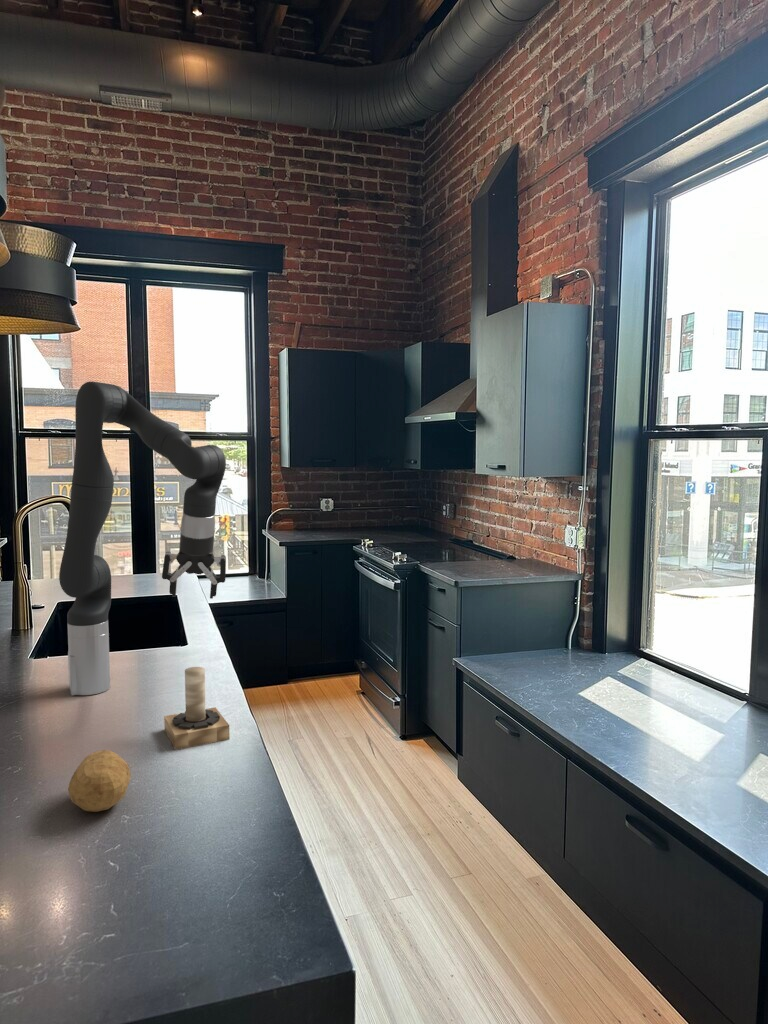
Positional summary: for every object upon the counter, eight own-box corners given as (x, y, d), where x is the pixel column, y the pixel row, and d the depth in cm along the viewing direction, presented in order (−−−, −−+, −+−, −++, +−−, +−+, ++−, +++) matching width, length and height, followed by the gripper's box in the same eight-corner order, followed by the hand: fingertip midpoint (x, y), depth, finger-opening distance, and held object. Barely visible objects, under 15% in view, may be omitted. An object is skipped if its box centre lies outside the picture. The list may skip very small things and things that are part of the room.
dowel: (188, 740, 144) (186, 674, 143) (184, 732, 148) (182, 668, 146) (208, 736, 146) (207, 671, 145) (203, 729, 150) (202, 665, 148)
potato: (130, 780, 127) (129, 738, 126) (132, 819, 114) (131, 772, 113) (71, 789, 123) (69, 746, 123) (67, 830, 110) (65, 782, 110)
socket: (175, 749, 139) (174, 732, 139) (164, 729, 149) (164, 713, 149) (229, 739, 145) (229, 722, 144) (215, 720, 154) (215, 704, 154)
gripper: (229, 528, 165) (224, 591, 169) (166, 523, 162) (162, 588, 166) (229, 539, 158) (223, 604, 162) (163, 534, 155) (159, 601, 159)
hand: (192, 596), depth 164 cm, fingers open, 8 cm apart
